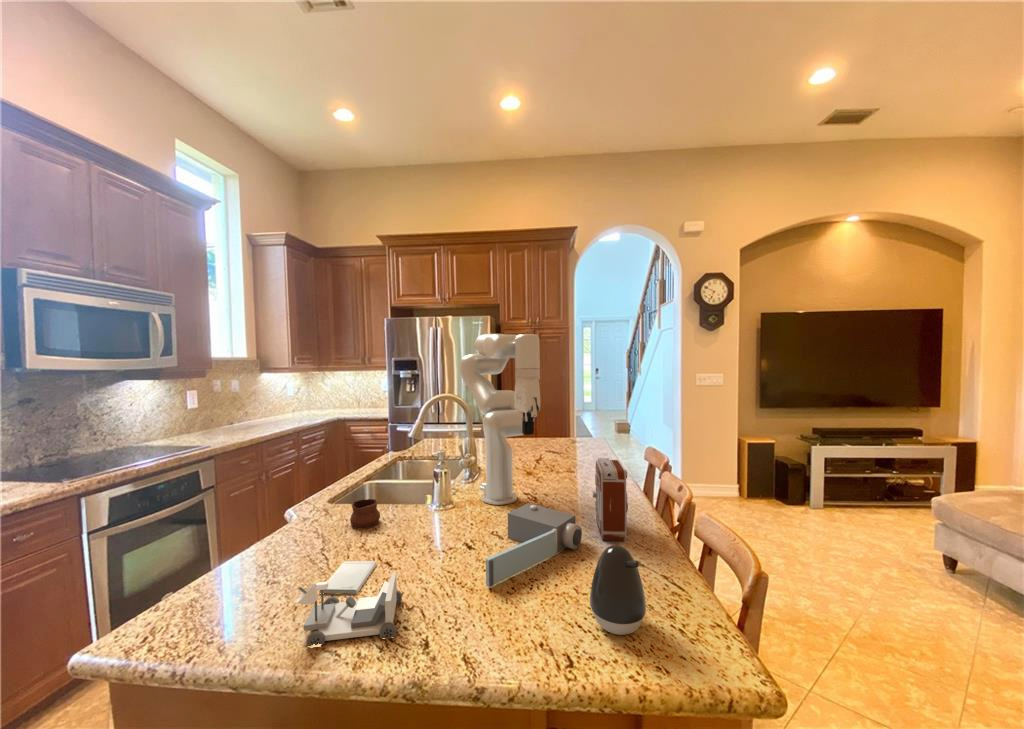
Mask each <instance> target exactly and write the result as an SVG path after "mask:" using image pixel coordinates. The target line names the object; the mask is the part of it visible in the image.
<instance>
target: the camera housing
mask: <svg viewBox="0 0 1024 729" xmlns="http://www.w3.org/2000/svg"><path fill="white" fill-rule="evenodd" d="M576 516H577V515H575V514H571V513H569V512H565V511H560V510H556V509H552V508H549V507H544V506H542V505H538V504H533V503H530V502H527V503H526V504H524V505H522V506H520V507H518V508H516V509H513V510H512V511H510V512H507V539H510V540H513V541H516V542H519V543H520V544H521V543H524V542H526V541H528V540H531V539H533V538H535V537H538V536H540V535H542V534H545V533H547V532H549V531H552V529H557V555H558V554H559V553H561V552H562V551H564V550H565V549H567V548H569V549H572V550H577V549H578V547H579V546H580V544H581V541H582V536H583V530H582V527H581V526H580V525H579V524H577V523H576V521H577V520H576V519H577V518H576Z"/></svg>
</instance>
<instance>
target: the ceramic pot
mask: <svg viewBox="0 0 1024 729" xmlns="http://www.w3.org/2000/svg"><path fill="white" fill-rule="evenodd" d="M378 503H379V500H378V499H373V498H367V499H359V500H355V501H353V502H352V503H351V508H352V513H351V514H350V519H349V521H350V525H351V527H352V528H354V529H358V530H360V529H361V530H364V529H369V528H370V529H371V528H372V527H375V526H377V525H378V524H379V521H380V518H381V513H380V511H379V510H378ZM333 530H334V532H335V533H336V534H338V532H337V529H336V528H335V527H334V528H333Z"/></svg>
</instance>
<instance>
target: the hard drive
mask: <svg viewBox="0 0 1024 729" xmlns="http://www.w3.org/2000/svg"><path fill="white" fill-rule="evenodd" d="M376 567H377V561H374V560H371V561H370V560H367V561H366V560H364V561H363V560H360V561H359V560H357V561H356V560H353V561H352V560H351V561H350V560H346V561H343V562H342V564H341V565H339V567H338V568H337V569H336V570H335V572H334V573H333V574H332V575H331V576H330V577H329V579H328V580H327V581H328V588H327V589H324V590H323V593H335V594H334V595H337V594H336V593H345V594H344V595H358V593H359V592H360V590H361V589H362V587H363V586H364V584H365V583H366V581H368V579H367V578H369V577H370V576H371V574H372V573H373V571H374V570H373V569H375V568H376ZM371 572H372V573H371ZM369 575H370V576H369ZM362 585H363V586H362ZM318 591H319V594H320V593H321V590H318ZM358 591H359V592H358ZM346 593H347V594H346Z"/></svg>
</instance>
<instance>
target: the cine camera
mask: <svg viewBox="0 0 1024 729" xmlns="http://www.w3.org/2000/svg"><path fill="white" fill-rule="evenodd" d="M594 475H595V476H594V478H595V479H594V483H595V484H594V485H595V491H594V490H593V491H592V498H595V506H594V507H595V516H596V518H595V520H596V521H595V522H596V525H597V528H598V529H597V530H598V534H599V536H600V539H601V540H602V541H618V542H619V541H620V542H621V541H622V542H623V541H626V540H627V532H628V531H627V529H628V528H627V523H628V522H627V518H628V517H627V513H628V511H629V510H628V509H629V504H628V492H627V479H628V470H627V469H625V468H624V466H623V465H622V464H621V462H620V461H619V460H618V459H610V458H609V457H597V459H596V461H595V474H594Z"/></svg>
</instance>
